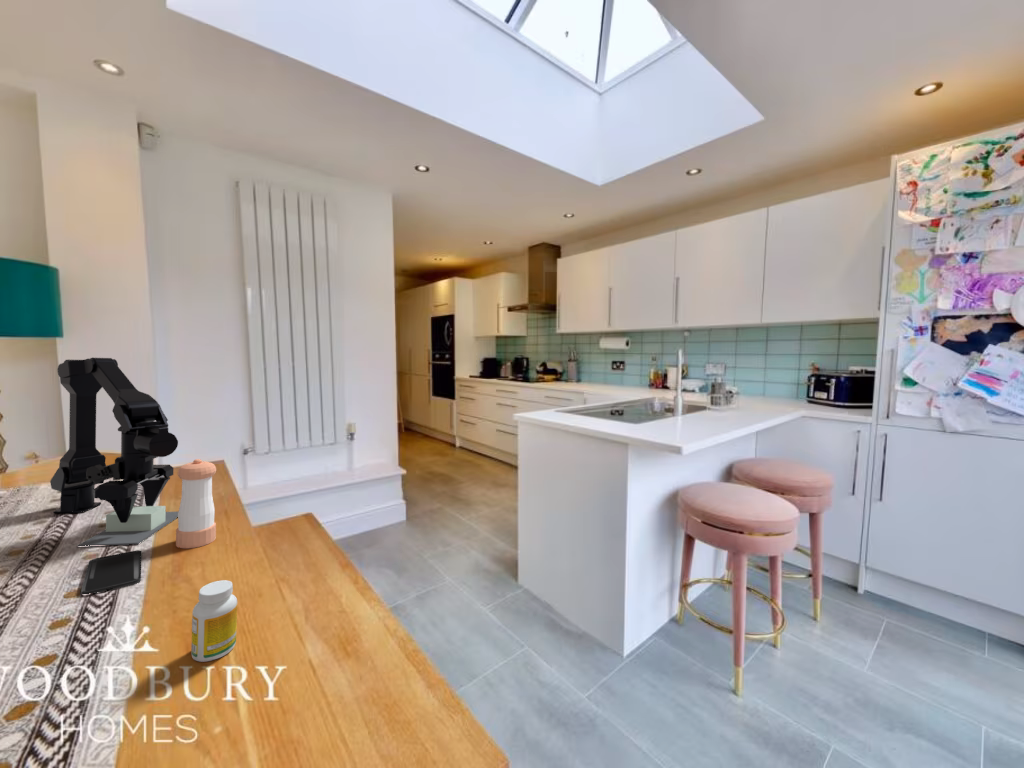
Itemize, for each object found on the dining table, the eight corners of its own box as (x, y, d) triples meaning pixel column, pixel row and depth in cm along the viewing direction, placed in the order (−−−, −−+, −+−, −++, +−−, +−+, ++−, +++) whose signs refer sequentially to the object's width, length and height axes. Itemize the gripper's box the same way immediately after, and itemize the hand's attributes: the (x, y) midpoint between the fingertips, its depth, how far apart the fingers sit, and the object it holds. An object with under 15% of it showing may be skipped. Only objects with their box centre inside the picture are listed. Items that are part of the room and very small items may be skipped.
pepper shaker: (187, 535, 96) (188, 455, 95) (221, 534, 97) (223, 455, 96) (168, 549, 89) (169, 463, 88) (205, 547, 90) (207, 463, 89)
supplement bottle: (181, 661, 57) (182, 596, 57) (210, 636, 63) (212, 576, 62) (218, 664, 57) (219, 599, 57) (244, 639, 62) (246, 578, 62)
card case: (165, 521, 101) (165, 505, 101) (150, 530, 96) (151, 514, 96) (123, 522, 99) (123, 506, 99) (105, 531, 94) (106, 515, 94)
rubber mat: (136, 514, 106) (136, 512, 106) (184, 513, 108) (184, 511, 108) (77, 547, 87) (77, 545, 87) (138, 544, 90) (138, 542, 90)
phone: (141, 549, 87) (140, 579, 75) (141, 554, 87) (140, 585, 76) (88, 559, 81) (79, 593, 70) (88, 565, 81) (79, 599, 70)
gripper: (124, 443, 104) (124, 502, 105) (63, 461, 86) (63, 532, 87) (175, 443, 107) (174, 501, 107) (126, 460, 88) (125, 530, 89)
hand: (137, 514), depth 98 cm, fingers open, 9 cm apart
